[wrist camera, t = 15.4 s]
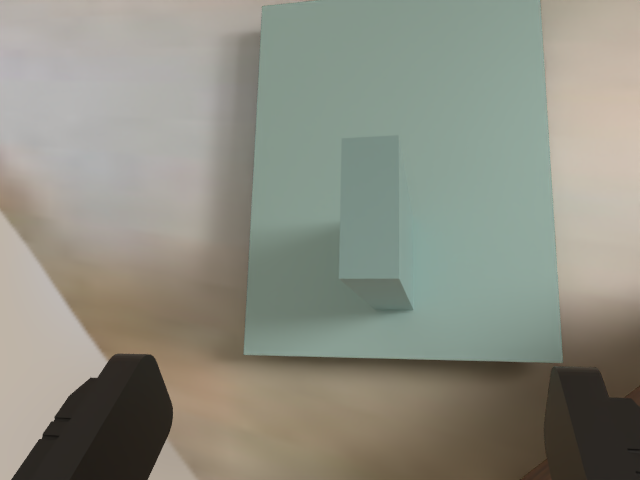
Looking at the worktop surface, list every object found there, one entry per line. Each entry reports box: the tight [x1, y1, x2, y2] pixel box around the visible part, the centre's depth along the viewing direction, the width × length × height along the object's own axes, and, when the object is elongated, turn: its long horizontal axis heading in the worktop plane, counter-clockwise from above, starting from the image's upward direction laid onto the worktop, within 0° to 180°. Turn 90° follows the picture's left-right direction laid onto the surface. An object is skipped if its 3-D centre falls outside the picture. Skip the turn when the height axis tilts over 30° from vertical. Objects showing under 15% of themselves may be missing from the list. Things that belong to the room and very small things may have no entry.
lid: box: [244, 0, 563, 363], centre depth 21 cm, size 17×13×11 cm
